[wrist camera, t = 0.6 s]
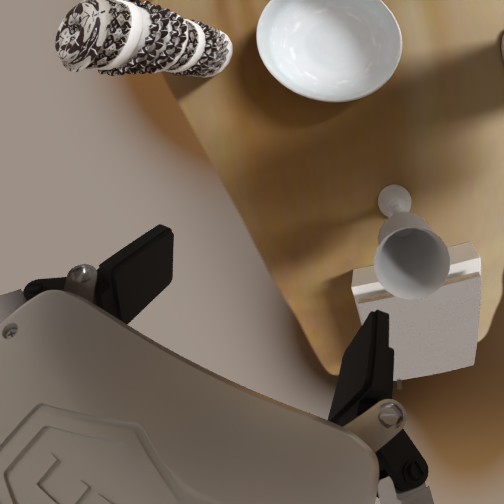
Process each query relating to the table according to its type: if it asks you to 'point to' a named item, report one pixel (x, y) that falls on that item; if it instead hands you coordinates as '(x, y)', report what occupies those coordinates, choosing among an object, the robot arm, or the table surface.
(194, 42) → the decorative candle
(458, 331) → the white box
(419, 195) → the table surface
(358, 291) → the base
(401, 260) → the chalice
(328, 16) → the cereal bowl
